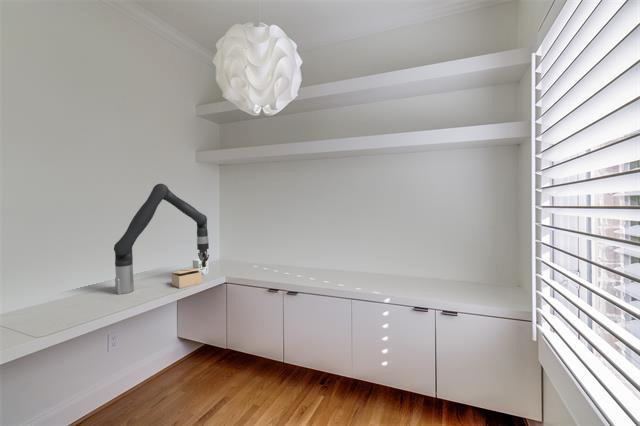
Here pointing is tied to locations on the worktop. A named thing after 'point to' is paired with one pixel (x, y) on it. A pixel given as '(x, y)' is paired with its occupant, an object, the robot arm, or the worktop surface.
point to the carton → (186, 279)
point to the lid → (186, 271)
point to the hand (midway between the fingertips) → (204, 266)
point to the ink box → (200, 266)
